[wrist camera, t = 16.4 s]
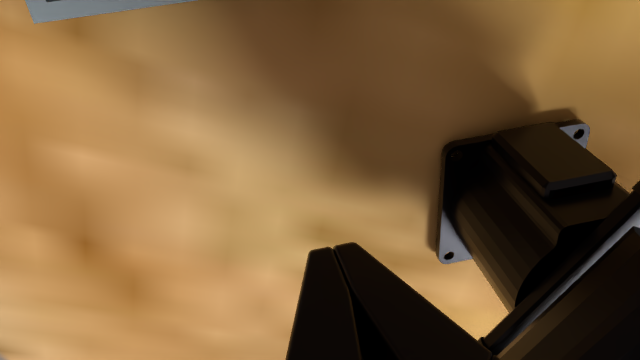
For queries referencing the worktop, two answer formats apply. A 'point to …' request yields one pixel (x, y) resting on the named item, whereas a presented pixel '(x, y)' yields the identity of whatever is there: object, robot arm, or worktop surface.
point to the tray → (86, 7)
